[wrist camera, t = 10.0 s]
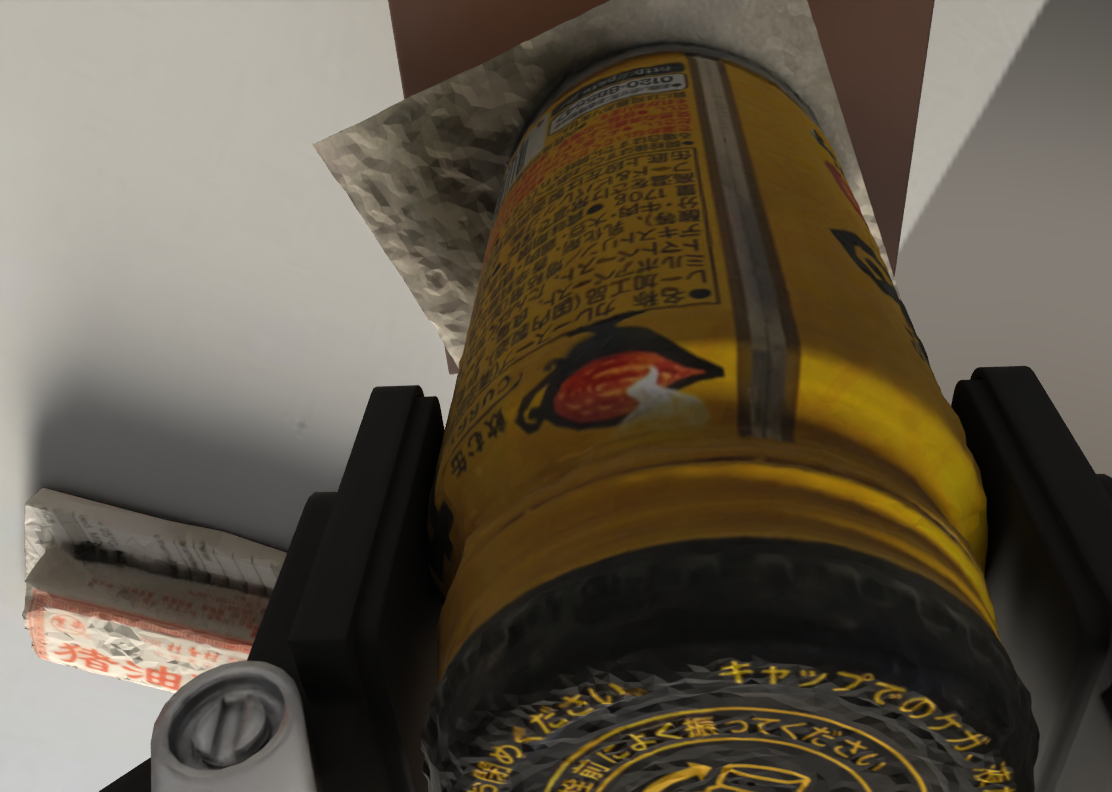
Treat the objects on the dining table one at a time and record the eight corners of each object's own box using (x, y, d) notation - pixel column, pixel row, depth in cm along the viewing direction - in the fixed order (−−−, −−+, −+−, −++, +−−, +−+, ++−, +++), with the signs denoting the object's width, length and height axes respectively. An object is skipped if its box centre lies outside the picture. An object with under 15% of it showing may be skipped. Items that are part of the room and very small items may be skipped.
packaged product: (382, 651, 46) (340, 766, 52) (400, 575, 50) (359, 690, 56) (-14, 551, 44) (-13, 684, 49) (38, 479, 47) (33, 610, 53)
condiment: (900, 297, 19) (1203, 961, 9) (504, 435, 21) (408, 1073, 11) (780, -85, 15) (1080, 347, 5) (316, 136, 17) (-64, 710, 8)
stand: (475, -186, 30) (372, -90, 17) (805, -212, 30) (954, -132, 17) (508, 128, 36) (449, 376, 23) (784, 114, 35) (882, 362, 22)
